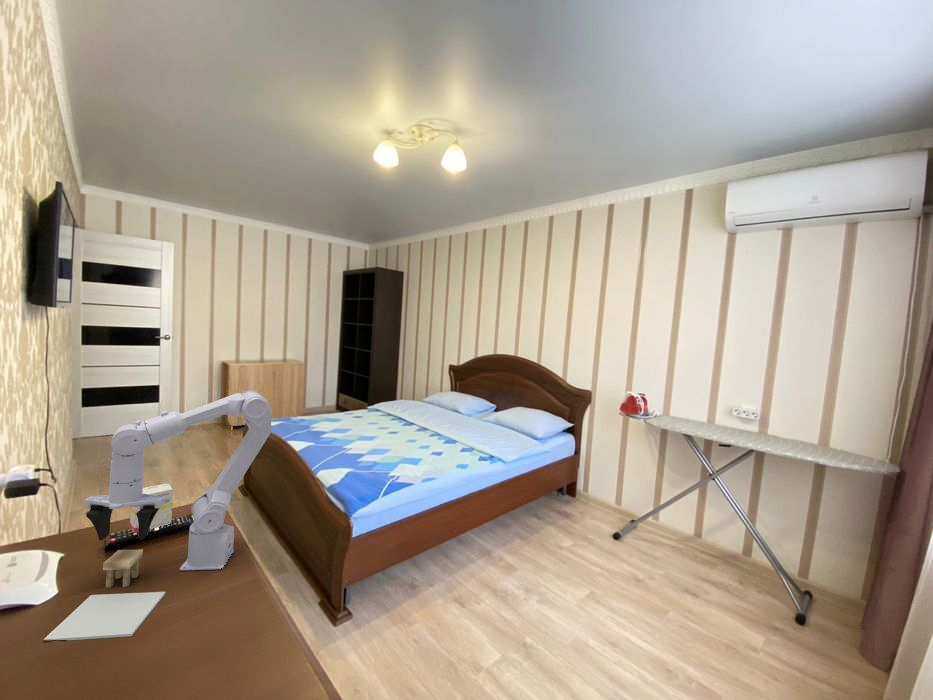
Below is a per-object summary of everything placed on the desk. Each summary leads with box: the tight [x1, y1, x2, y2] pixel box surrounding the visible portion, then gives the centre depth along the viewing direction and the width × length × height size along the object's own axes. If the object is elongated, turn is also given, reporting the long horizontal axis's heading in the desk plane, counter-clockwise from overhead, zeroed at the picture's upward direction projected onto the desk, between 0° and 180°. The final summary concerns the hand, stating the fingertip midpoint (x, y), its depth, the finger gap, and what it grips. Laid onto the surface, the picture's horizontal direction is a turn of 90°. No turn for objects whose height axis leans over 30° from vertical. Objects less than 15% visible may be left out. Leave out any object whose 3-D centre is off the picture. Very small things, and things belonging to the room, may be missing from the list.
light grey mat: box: [43, 591, 167, 641], centre depth 79 cm, size 14×12×1 cm
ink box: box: [129, 483, 174, 533], centre depth 110 cm, size 9×5×12 cm, turn 141°
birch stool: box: [102, 549, 144, 589], centre depth 89 cm, size 5×5×6 cm
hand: (123, 537), depth 88 cm, fingers open, 7 cm apart
